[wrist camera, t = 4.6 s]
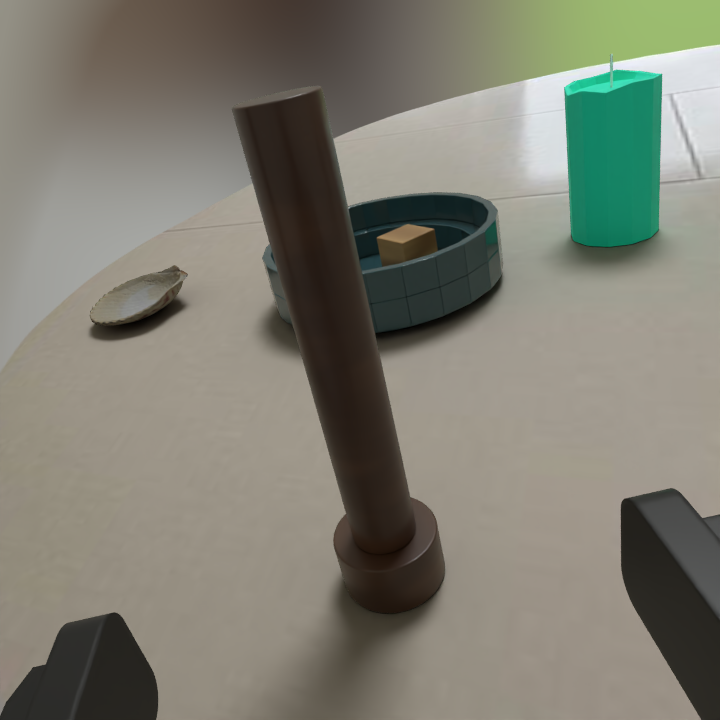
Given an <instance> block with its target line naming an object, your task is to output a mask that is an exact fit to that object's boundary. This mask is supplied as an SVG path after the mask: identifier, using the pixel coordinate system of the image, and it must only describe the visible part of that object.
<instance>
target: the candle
mask: <svg viewBox="0 0 720 720" xmlns="http://www.w3.org/2000/svg"><path fill="white" fill-rule="evenodd" d="M564 90H565V112H566V134H567V156H568V178H569V200H570V222H571V235H572V238H573V241H575V242H578V243H581V244H583V245H586V246H600V247H613V246H621V245H629V244H634V243H637V242H640V241H643V240H645V239H648V238H651V237H652V236H653V235H654V234H655V233H656V232H657V231H658V230H659V190H660V146H661V103H662V74H656V73H650V72H643V71H629V70H614V71H613V58H612V54H611V55H610V72H608V73H604V74H601V75H598V76H594V77H590V78H586V79H582V80H577V81H574V82H572V83H570V84H569V85H567V86H566V87H564Z"/></svg>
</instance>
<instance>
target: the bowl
mask: <svg viewBox="0 0 720 720" xmlns="http://www.w3.org/2000/svg"><path fill="white" fill-rule="evenodd" d="M348 210H349V215H350V219H351V224H352V229H353V233H354V238H355V242H356V247H357V252H358V256H359V261H360V266H361V270H362V275H363V280H364V284H365V289H366V294H367V298H368V303H369V308H370V312H371V317H372V322H373V326H374V331H375V333H380V332H387V331H393V330H398V329H403V328H407V327H411V326H415V325H418V324H422V323H425V322H428V321H431V320H434V319H436V318H440V317H443V316H444V315H447V314H449V313H451V312H454V311H456V310H458V309H460V308H462V307H464V306H466V305H469V304H470V303H472V302H474V301H475V300H477V299H478V298H479V297H481V296H482V295H484V294H485V293H486V292H488V291H489V290H490V289H491V288H492V287H493V286H494V285H495V283H496V282H497V281H498V279H499V278H500V277H501V275H502V268H503V258H502V248H501V239H500V228H499V218H498V210H497V209H496V207H495V206H494V205H493V204H492V202H491V201H488V200H486V199H484V198H481V197H479V196H474V195H468V194H462V193H442V192H437V193H436V192H434V193H418V194H408V195H401V196H393V197H387V198H381V199H376V200H372V201H367V202H362V203H358V204H355V205H351V206H348ZM407 224H411V225H416V226H421V227H427V228H432V229H434V230H435V236H436V242H437V249H438V251H437V252H435V253H432V254H430V255H427V256H423V257H420V258H416V259H413V260H410V261H406V262H403V263H400V264H395V265H390V266H385V267H382V263H381V258H380V253H379V248H378V243H377V237H379V236H381V235H383V234H386V233H388V232H390V231H393V230H395V229H397V228H400V227H402V226H404V225H407ZM262 259H263V262H264V266H265V269H266V273H267V276H268V280H269V283H270V286H271V290H272V293H273V297H274V300H275V303H276V307H277V309H278V312H279V314H280V316H281V318H282V319H283V320H285V321H286V322H288V323H289V324H291V325H292V326H293V324H292V320H291V317H290V313H289V310H288V306H287V303H286V299H285V296H284V292H283V288H282V285H281V281H280V278H279V274H278V271H277V267H276V264H275V260H274V257H273V253H272V250H271V246H270V244H269V245H268V246H267V247H266V249H265V252H264V255H263V257H262Z"/></svg>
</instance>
